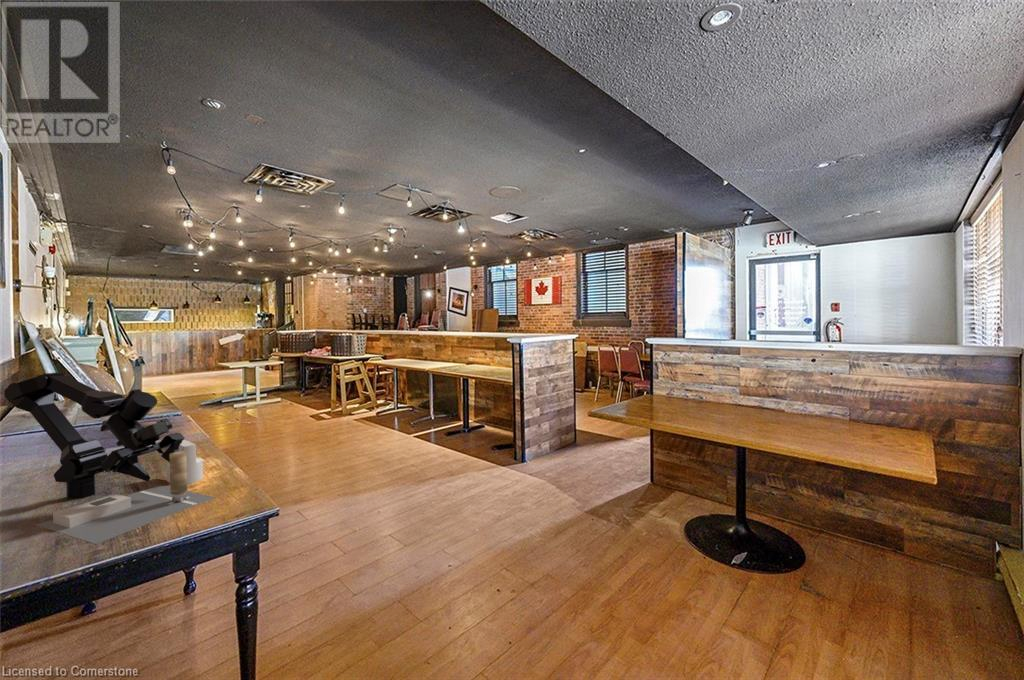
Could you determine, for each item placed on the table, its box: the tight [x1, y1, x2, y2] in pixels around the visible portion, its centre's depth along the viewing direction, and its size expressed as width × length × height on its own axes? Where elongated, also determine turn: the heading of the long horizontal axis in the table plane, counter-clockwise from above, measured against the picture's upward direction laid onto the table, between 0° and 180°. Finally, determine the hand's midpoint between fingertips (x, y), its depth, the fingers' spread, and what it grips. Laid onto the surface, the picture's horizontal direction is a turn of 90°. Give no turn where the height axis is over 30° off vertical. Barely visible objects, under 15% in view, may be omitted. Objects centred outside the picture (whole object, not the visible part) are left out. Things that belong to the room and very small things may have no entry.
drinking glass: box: [165, 439, 204, 486], centre depth 130 cm, size 9×9×12 cm
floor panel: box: [36, 484, 216, 545], centre depth 107 cm, size 24×26×1 cm
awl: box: [169, 451, 188, 503], centre depth 113 cm, size 4×4×13 cm
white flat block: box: [52, 493, 131, 528], centre depth 104 cm, size 7×12×3 cm, turn 160°
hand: (165, 473), depth 113 cm, fingers open, 9 cm apart
